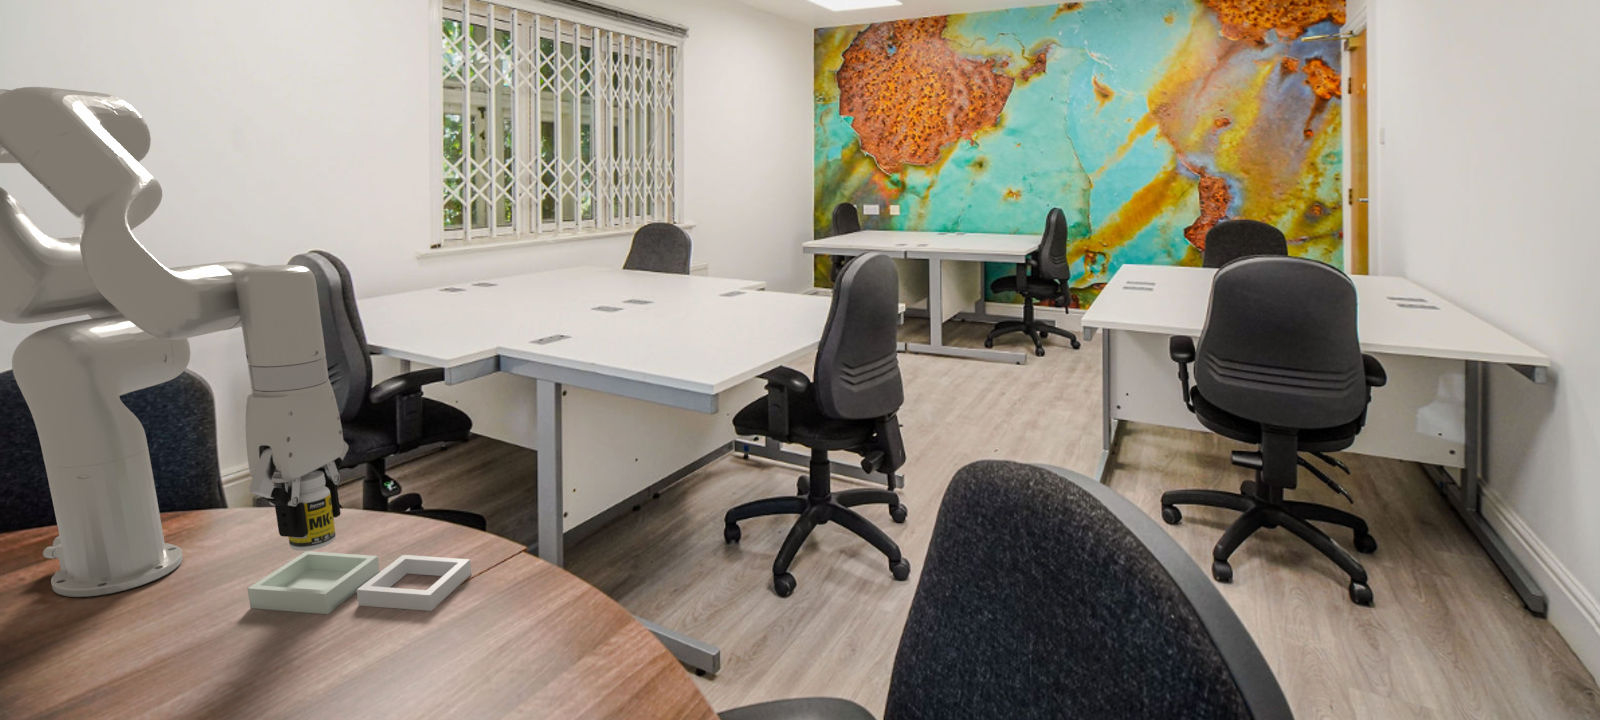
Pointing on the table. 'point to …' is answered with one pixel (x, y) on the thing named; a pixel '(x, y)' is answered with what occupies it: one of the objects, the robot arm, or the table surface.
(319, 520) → the supplement bottle
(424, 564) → the collar holder
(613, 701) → the table surface
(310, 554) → the tray
